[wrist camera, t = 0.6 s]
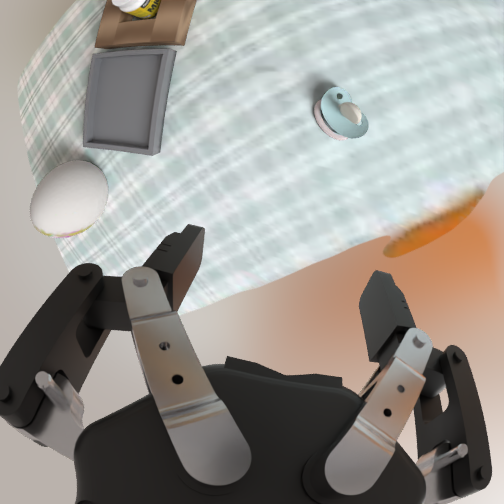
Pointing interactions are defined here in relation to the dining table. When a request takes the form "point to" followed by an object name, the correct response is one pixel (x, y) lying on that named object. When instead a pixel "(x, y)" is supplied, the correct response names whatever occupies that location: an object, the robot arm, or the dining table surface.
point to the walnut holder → (145, 26)
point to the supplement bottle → (139, 7)
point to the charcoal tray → (128, 100)
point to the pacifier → (340, 115)
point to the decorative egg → (69, 199)
